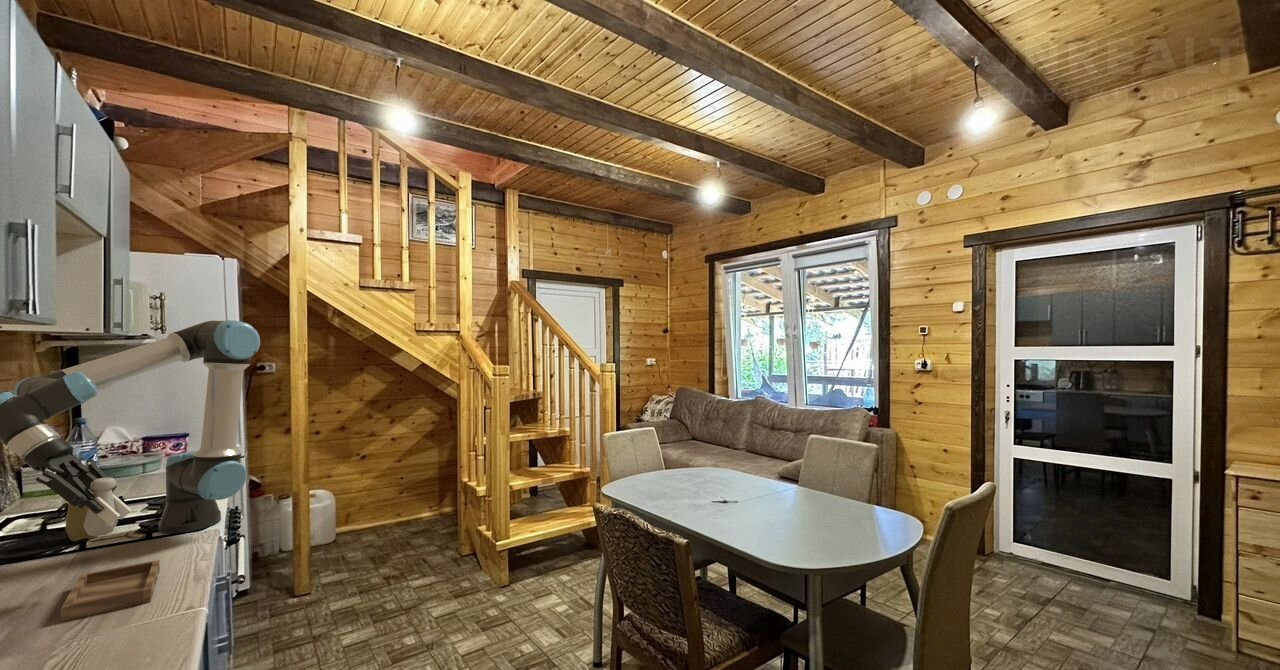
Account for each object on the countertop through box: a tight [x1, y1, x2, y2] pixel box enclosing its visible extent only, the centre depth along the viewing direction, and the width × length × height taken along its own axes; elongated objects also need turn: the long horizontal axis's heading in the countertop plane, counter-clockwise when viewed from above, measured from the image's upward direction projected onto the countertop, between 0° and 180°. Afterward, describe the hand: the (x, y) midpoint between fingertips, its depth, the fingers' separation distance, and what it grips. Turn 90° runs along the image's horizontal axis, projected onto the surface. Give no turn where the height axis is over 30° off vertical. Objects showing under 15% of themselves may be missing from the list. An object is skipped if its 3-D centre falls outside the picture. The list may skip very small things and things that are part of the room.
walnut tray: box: [60, 559, 161, 623], centre depth 125 cm, size 19×14×3 cm
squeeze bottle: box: [64, 489, 98, 542], centre depth 157 cm, size 8×8×18 cm
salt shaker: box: [84, 477, 119, 537], centre depth 128 cm, size 6×6×13 cm
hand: (120, 517), depth 129 cm, fingers closed on salt shaker, 3 cm apart
